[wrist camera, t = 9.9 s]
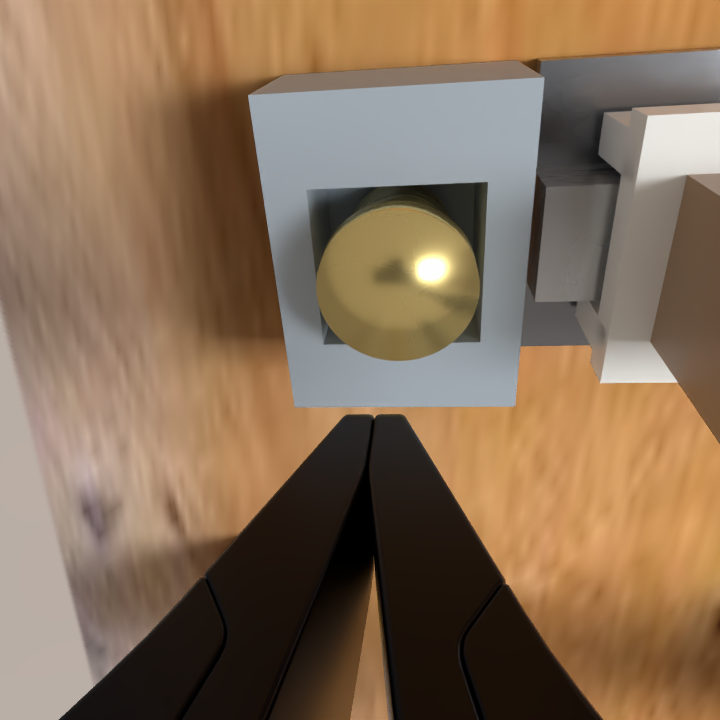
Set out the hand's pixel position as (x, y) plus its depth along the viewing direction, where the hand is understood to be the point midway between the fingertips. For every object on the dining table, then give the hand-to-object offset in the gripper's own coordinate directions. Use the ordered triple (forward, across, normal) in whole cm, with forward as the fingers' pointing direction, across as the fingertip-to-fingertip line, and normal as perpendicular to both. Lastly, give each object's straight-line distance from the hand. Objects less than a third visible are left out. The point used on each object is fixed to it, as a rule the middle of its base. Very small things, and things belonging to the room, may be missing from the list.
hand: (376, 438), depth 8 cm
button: (+9, 0, 0) cm, 9 cm away
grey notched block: (+10, 0, 0) cm, 10 cm away
